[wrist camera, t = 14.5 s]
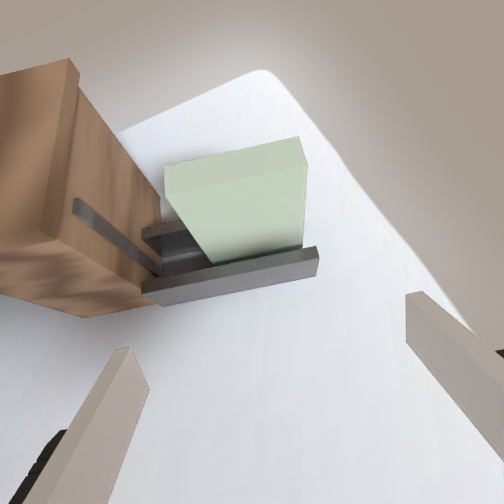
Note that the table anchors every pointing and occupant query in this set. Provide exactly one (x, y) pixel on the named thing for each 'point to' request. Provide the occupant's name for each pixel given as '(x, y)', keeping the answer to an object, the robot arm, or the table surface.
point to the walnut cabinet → (69, 200)
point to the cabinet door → (242, 200)
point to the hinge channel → (218, 268)
